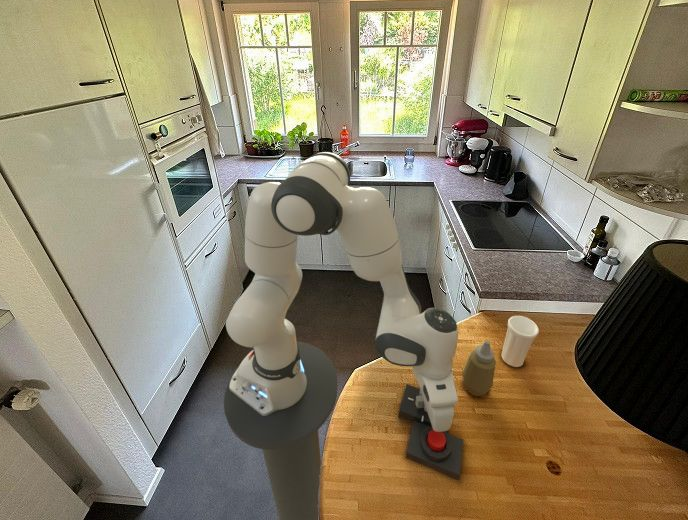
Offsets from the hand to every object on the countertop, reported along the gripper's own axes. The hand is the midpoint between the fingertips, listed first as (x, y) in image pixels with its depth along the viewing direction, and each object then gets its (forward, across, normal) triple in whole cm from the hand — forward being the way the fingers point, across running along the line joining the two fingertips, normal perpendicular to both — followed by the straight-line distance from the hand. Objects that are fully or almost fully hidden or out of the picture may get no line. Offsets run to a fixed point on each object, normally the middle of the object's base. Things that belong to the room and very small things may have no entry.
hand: (425, 403), depth 83 cm
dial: (+1, 0, 0) cm, 1 cm away
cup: (+4, -13, +32) cm, 35 cm away
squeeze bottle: (+4, -5, +17) cm, 18 cm away
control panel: (+4, 0, 0) cm, 4 cm away
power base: (+4, +9, 0) cm, 10 cm away
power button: (0, +9, 0) cm, 9 cm away
